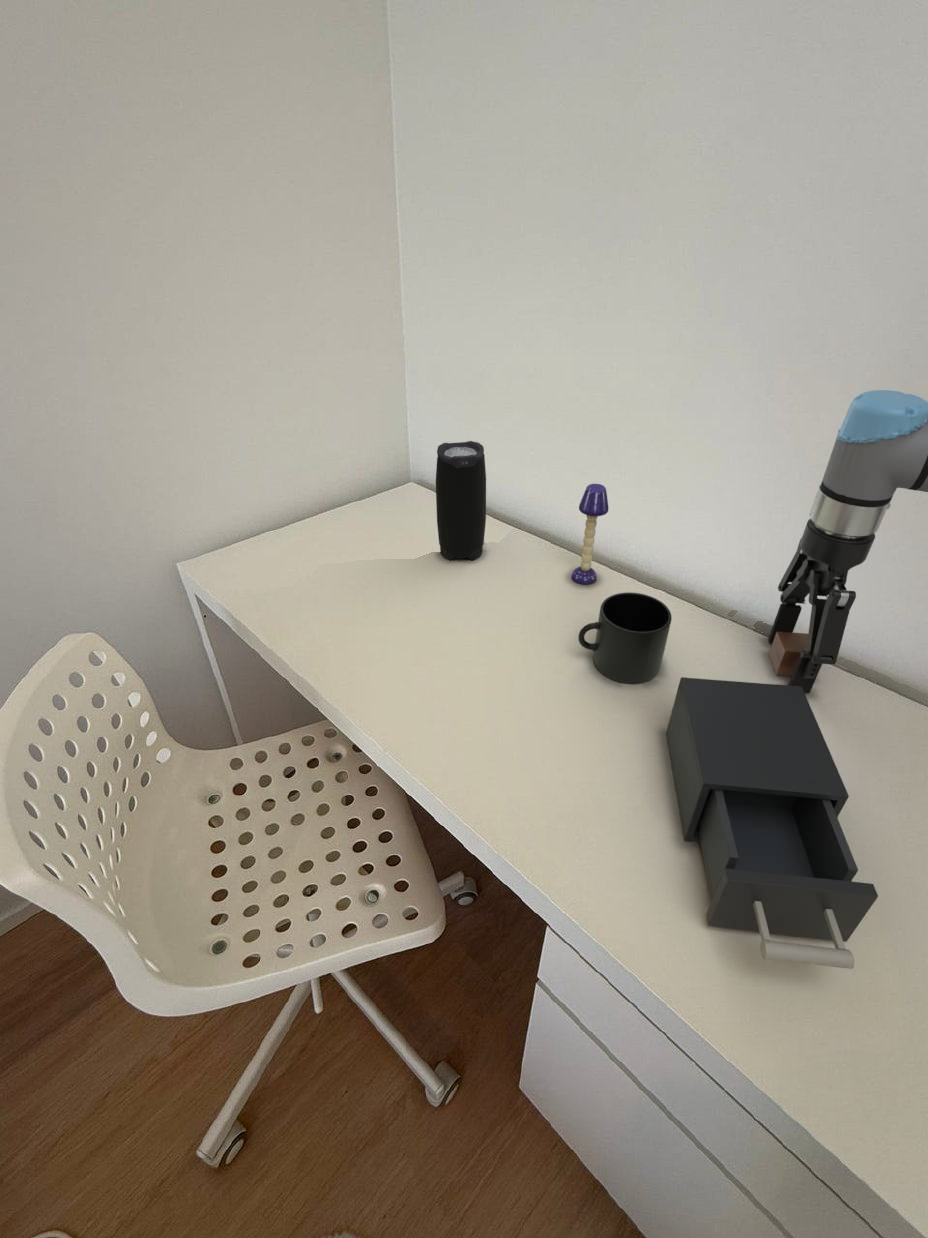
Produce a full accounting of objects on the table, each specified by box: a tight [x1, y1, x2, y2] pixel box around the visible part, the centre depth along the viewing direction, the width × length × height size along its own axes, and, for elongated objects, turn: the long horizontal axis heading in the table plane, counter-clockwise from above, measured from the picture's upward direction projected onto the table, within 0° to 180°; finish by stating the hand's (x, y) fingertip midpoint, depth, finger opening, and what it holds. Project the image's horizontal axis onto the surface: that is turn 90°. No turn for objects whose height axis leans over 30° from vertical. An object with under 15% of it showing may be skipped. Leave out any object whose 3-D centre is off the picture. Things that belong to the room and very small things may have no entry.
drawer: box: [697, 789, 879, 970], centre depth 62 cm, size 19×12×8 cm, turn 173°
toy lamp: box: [571, 483, 609, 585], centre depth 105 cm, size 5×5×17 cm
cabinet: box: [665, 676, 850, 843], centre depth 72 cm, size 16×14×10 cm
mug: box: [577, 591, 672, 685], centre depth 90 cm, size 9×12×9 cm
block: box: [767, 632, 808, 677], centre depth 90 cm, size 4×4×4 cm
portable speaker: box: [435, 440, 487, 561], centre depth 112 cm, size 9×9×20 cm
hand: (787, 665), depth 92 cm, fingers open, 10 cm apart
